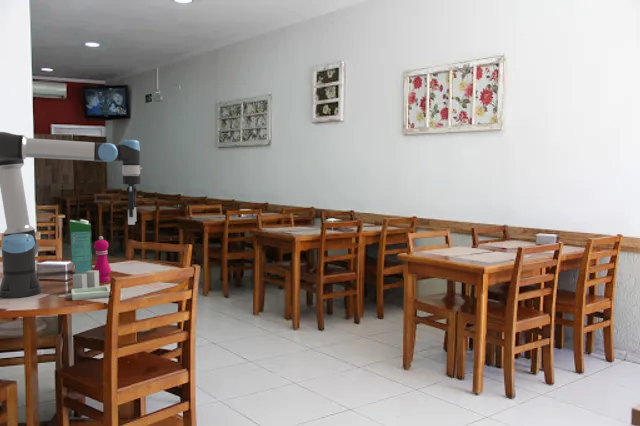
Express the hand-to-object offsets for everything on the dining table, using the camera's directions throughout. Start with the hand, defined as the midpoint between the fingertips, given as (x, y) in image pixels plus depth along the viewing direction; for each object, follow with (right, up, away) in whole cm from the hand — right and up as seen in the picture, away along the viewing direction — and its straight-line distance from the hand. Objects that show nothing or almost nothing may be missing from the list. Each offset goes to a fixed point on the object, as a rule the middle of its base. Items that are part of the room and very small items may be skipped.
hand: (132, 223), depth 264 cm
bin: (-7, -28, -30) cm, 42 cm away
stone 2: (-12, -27, -15) cm, 33 cm away
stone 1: (-14, -27, -22) cm, 38 cm away
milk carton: (-31, -24, +22) cm, 45 cm away
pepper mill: (-13, -26, -1) cm, 29 cm away
